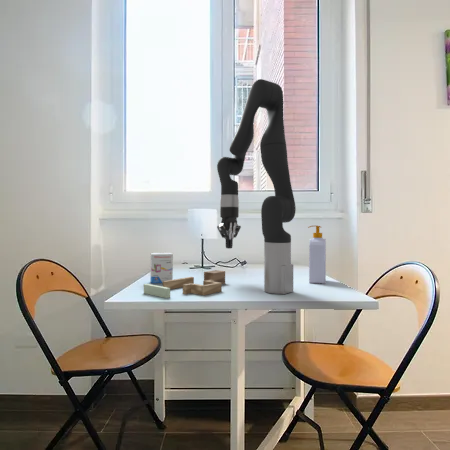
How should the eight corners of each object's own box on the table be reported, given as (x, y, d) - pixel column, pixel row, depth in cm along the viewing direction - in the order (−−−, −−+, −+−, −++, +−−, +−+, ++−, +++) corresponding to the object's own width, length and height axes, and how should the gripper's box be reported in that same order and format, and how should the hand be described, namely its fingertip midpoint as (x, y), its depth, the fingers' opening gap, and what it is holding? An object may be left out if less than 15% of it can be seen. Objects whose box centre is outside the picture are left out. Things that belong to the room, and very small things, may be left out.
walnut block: (225, 283, 139) (225, 271, 139) (213, 286, 134) (213, 273, 134) (215, 282, 142) (215, 270, 142) (203, 284, 137) (203, 271, 137)
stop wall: (170, 297, 113) (170, 288, 113) (166, 298, 112) (166, 288, 112) (147, 292, 121) (147, 283, 121) (143, 293, 120) (143, 284, 120)
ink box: (151, 283, 139) (151, 253, 138) (150, 281, 143) (150, 252, 143) (172, 282, 141) (172, 253, 141) (171, 280, 146) (171, 252, 146)
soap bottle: (308, 279, 149) (308, 225, 148) (325, 280, 147) (325, 225, 146) (307, 283, 140) (307, 225, 140) (325, 284, 138) (325, 225, 138)
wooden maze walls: (226, 290, 125) (226, 281, 125) (198, 296, 114) (198, 287, 114) (191, 284, 137) (191, 276, 137) (162, 289, 126) (162, 281, 126)
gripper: (226, 205, 137) (225, 249, 137) (246, 206, 147) (246, 247, 147) (211, 205, 142) (211, 248, 142) (232, 206, 152) (232, 246, 152)
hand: (229, 248), depth 145 cm, fingers closed
